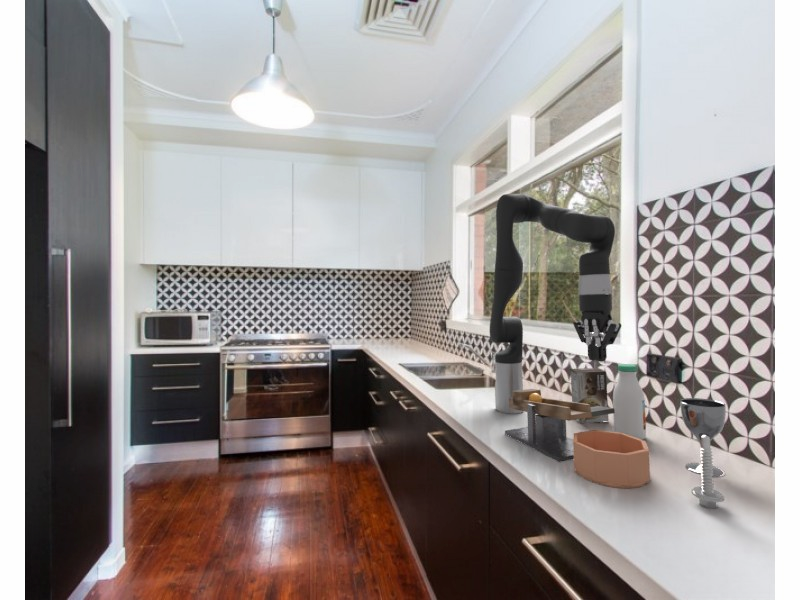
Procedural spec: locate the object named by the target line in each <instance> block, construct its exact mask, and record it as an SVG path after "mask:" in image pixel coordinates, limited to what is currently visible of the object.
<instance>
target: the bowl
mask: <svg viewBox="0 0 800 600" xmlns="http://www.w3.org/2000/svg"><path fill="white" fill-rule="evenodd" d="M572 437H573V438H572V440H573V451H574V459H573V470H574V471H575V473H576V474H577V475H578V476H580V477H581V478H583V479H585V480H587V482H588V481H589V482H591V483H594V484H598V485H600V486H604V487H608V488H609V487H610V488H614V489H615V488H617V489H636V488H640V487H643V486H646V485H647V484H648V483H649V482H650V481H651V468H650V464H651V463H650V450H649V447H648V445H647V442H646V441H645V439H644V440H641V439H638V438H635V437H632V436H629V435H626V434H624V433H619V432H614V431H610V430H609V431H608V430H598V429H592V430H586V431H580V432H575V433H573V436H572Z"/></svg>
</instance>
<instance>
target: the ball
mask: <svg viewBox="0 0 800 600" xmlns="http://www.w3.org/2000/svg"><path fill="white" fill-rule="evenodd" d="M542 398H543V397H542V395H541V396H540V395H539V394H538V393H532V394H531V395H530V396H529V401H533V402H539V403H542Z"/></svg>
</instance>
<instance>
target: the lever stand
mask: <svg viewBox="0 0 800 600" xmlns="http://www.w3.org/2000/svg"><path fill="white" fill-rule="evenodd" d="M561 400H562V399H561ZM562 401H564V400H562ZM526 413H527V426H524V427H518V428H512V429H507V430H506V429H505V430H504V435H506V434H507V435H506V436H508V435H509V436H508V437H510V436H511V437H510V438H512V439H514V440H515V441H517V440H518V441H517V442H519V441H520V443H521V442H522V443H521V444H524V445H525V446H527V447H529V448H530V449H533V450H535V451H537V452H538V453H541V454H542V455H545V456H547V457H548V458H550V459H552V460H554V461H556V462H558V463H563V462H567V461H571V460H574V451H573V438H570V437H567V420H563V419H559V418H554V417H549V416H544V415H539V414H535V405H532V404H527V412H526Z"/></svg>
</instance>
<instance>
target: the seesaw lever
mask: <svg viewBox="0 0 800 600" xmlns="http://www.w3.org/2000/svg"><path fill="white" fill-rule="evenodd" d="M532 393H538V394H539V395H540V396H541V397H542V391H541V389H535V388H527V389H523V390H518V391H512V398H509V407H510V409H514V410H519V411H523V412H524V413H525V412H526V413H527V404H532V405H535V415H538V414H539V415H544V416H549V417H554V418H559V419H563V420H566V421H574V420H575V421H577V420H576V419H582V418H588V417H594V416H601V415H607V414H608V415H613V413H615V410H614V408H613V407H609V406H608V407H602V406H595V407H590V404H584V403H576V402H572V401H568V400H563V401H562V399H555V398H554V399H553V398H547V397H542V403H539V402H533V401H529V396H530V395H531V394H532Z"/></svg>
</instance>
